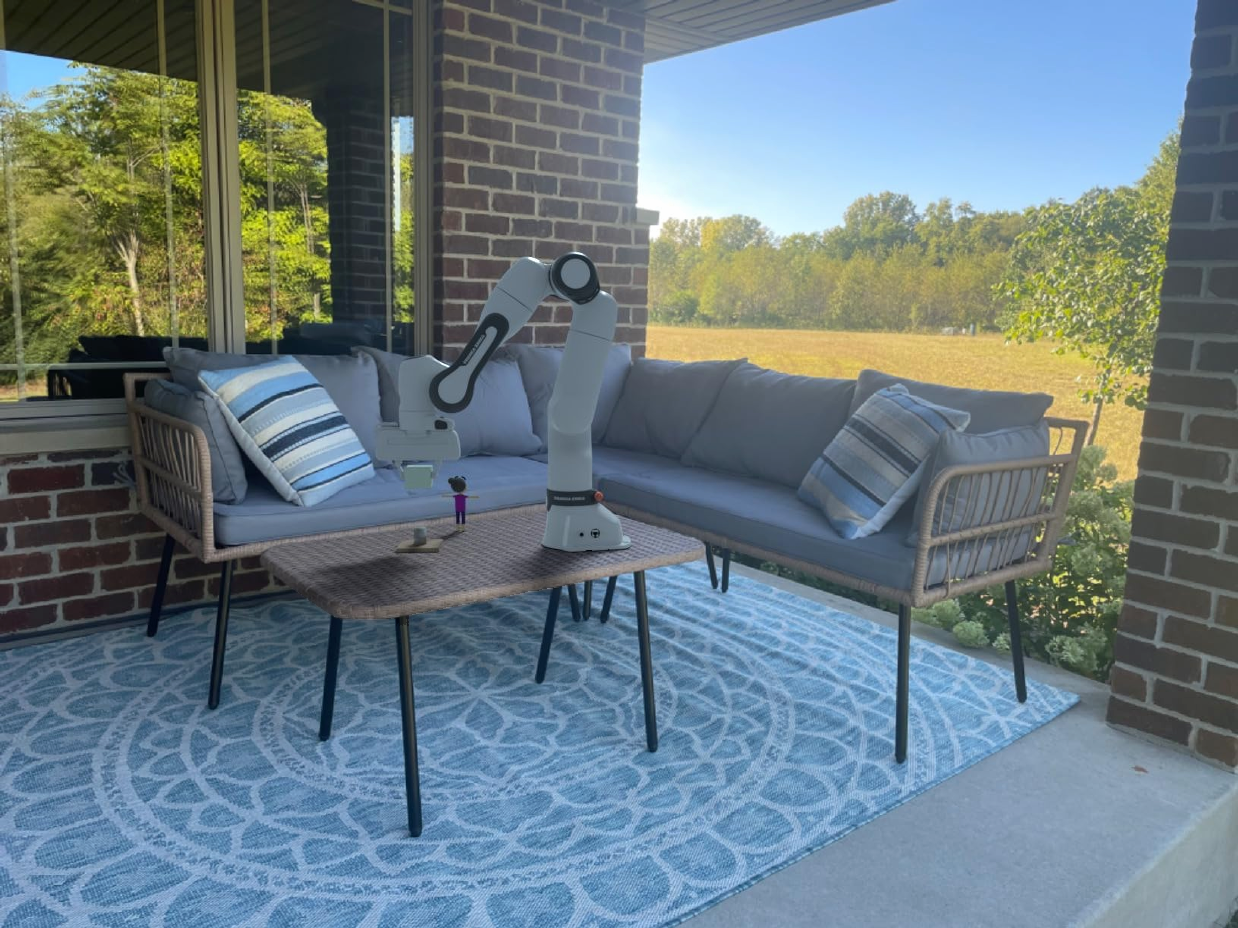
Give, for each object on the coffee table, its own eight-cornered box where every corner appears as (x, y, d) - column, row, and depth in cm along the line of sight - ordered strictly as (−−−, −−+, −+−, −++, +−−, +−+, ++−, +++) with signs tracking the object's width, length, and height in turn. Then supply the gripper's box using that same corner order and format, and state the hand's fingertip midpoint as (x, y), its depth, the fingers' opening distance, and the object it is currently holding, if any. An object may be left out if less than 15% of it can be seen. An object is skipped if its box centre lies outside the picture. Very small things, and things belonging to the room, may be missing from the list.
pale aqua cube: (433, 485, 222) (432, 465, 221) (430, 488, 216) (429, 468, 216) (408, 485, 222) (408, 465, 221) (404, 489, 216) (404, 468, 215)
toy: (481, 530, 242) (480, 475, 240) (475, 534, 237) (474, 478, 235) (444, 528, 243) (443, 474, 242) (437, 533, 238) (436, 477, 236)
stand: (443, 543, 226) (442, 523, 225) (438, 551, 216) (438, 531, 215) (402, 543, 225) (402, 524, 224) (396, 552, 215) (396, 532, 215)
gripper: (371, 423, 213) (373, 480, 215) (458, 423, 215) (459, 480, 216) (376, 421, 219) (377, 476, 221) (460, 421, 221) (461, 476, 223)
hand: (418, 478), depth 219 cm, fingers closed on pale aqua cube, 6 cm apart
